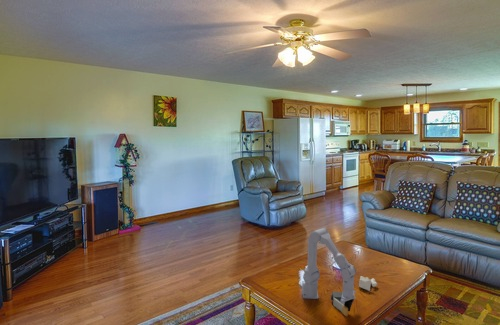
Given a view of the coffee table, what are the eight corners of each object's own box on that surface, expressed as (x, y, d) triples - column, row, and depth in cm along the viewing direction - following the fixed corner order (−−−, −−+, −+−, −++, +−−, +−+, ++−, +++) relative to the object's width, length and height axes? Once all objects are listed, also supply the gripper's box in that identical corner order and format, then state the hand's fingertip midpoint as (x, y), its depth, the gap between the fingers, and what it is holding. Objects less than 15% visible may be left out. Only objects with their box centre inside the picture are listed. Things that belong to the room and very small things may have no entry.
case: (331, 304, 177) (331, 295, 176) (330, 299, 183) (330, 290, 182) (347, 305, 176) (347, 296, 175) (345, 299, 182) (345, 291, 181)
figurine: (369, 281, 188) (381, 278, 197) (356, 275, 195) (367, 273, 205) (368, 292, 188) (379, 289, 197) (354, 287, 195) (366, 283, 204)
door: (331, 305, 176) (332, 297, 175) (333, 304, 176) (334, 297, 176) (345, 316, 165) (345, 308, 164) (347, 315, 166) (347, 307, 165)
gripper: (349, 295, 158) (348, 319, 160) (360, 284, 169) (360, 307, 170) (336, 290, 163) (336, 314, 164) (348, 280, 174) (348, 303, 175)
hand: (347, 310), depth 168 cm, fingers closed
